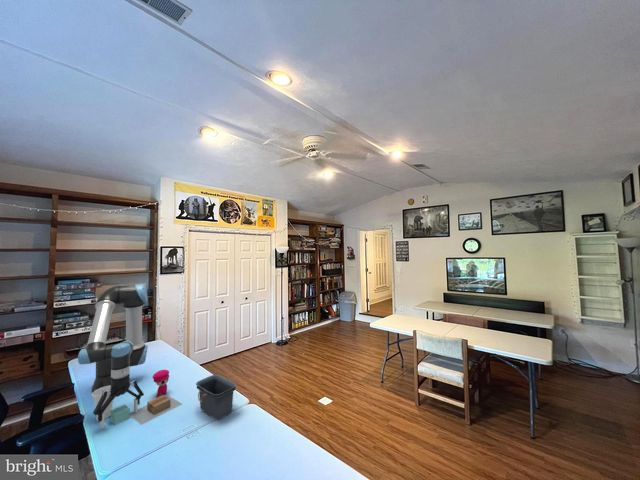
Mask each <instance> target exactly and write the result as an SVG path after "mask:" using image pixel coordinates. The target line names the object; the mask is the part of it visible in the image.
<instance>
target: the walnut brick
mask: <svg viewBox="0 0 640 480" xmlns="http://www.w3.org/2000/svg"><path fill="white" fill-rule="evenodd" d="M166 396H167V395H165V394H161V396H160V397H158V398H157V397H155V398H152V399H151V400H149V401H147V404H146V405H147V410H148V411H150V412H151V413H152V414H154V415H155V414H157V413H159V412H161V411H163V410H165V409H167V408H169V407H171V399H169V398H167V397H166Z"/></svg>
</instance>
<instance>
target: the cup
mask: <svg viewBox="0 0 640 480" xmlns="http://www.w3.org/2000/svg"><path fill="white" fill-rule="evenodd" d="M110 388H111V385H110V386H105V387H102V388H99V389H97V390H95V391H94V392H93V393H92V392H91V396H92V397H91V398H92V399H93V401H94V404H95V407H96V406H97V404H98V402H99V400H100V398H101V396H102V392H103V391H104V390H105V391H107V390H110ZM110 394H111V393H109V394H108V395H107V397H106V399H105V401H104V403H105V402H106V400H107V399H108V398H109V396H110ZM114 399H115V398H114ZM114 399H113V400H112V401H111V403H110V404H109V405H108V407H107V408H106V409H105V411H104V412H103V413H105V415H104V419H106V418H108V417H110V415H111V410H113V406H114V405H113V404H114ZM104 403H103V404H104ZM102 406H103V405H102ZM95 420H96V421H97V422H99V421H98V415H96V419H95Z"/></svg>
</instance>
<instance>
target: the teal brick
mask: <svg viewBox="0 0 640 480" xmlns="http://www.w3.org/2000/svg"><path fill="white" fill-rule="evenodd" d="M130 410H131V408H130V407H129V406H127V405H126V404H123V405H120V406H118V407H116V408H112V410H111V415H110V416H109V417H110V422H111V423H112V424H113V425H114V426H116V425H118V424H120V423H122V422H124V421H127V420H128V419H130V417H131V416H130V413H131V411H130Z"/></svg>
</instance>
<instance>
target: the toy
mask: <svg viewBox="0 0 640 480" xmlns="http://www.w3.org/2000/svg"><path fill="white" fill-rule="evenodd" d="M169 378H170V371H169V370H168V369H160V370H158V371H156V372H155V373H154V374H153V375H152V380H153V382H154V383H156V386H158V388H157V390H156V391H157V392H156V395H155V398H158V397H160V396H162V395H165V394H167V393H168V385H167V383H168V381H169Z"/></svg>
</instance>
